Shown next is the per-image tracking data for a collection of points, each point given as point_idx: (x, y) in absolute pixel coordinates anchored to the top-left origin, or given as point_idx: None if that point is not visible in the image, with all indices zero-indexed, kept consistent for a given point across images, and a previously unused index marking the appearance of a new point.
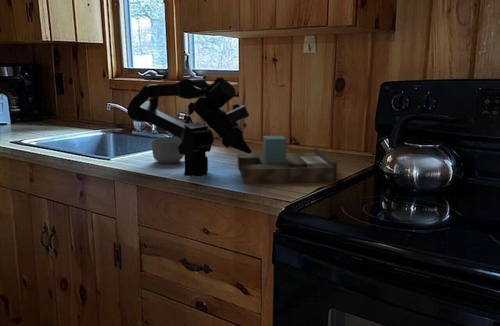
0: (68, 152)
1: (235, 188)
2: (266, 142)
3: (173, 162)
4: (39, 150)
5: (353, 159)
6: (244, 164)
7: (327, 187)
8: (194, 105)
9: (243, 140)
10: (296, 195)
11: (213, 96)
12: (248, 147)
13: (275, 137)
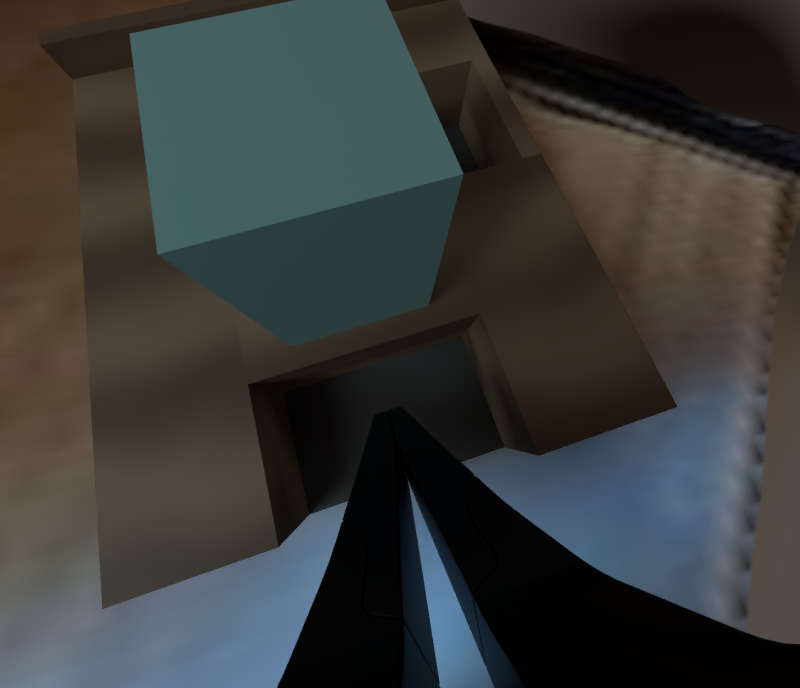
0: None
1: (711, 433)
2: (448, 200)
3: None
4: None
5: (22, 14)
6: (289, 486)
7: (538, 88)
8: None
9: (527, 523)
10: (693, 172)
11: None
12: (429, 437)
13: (289, 86)
